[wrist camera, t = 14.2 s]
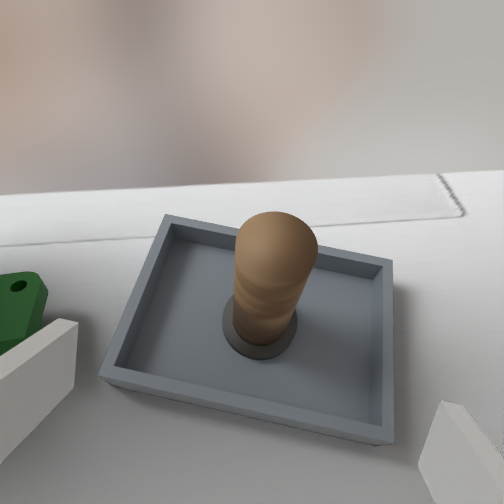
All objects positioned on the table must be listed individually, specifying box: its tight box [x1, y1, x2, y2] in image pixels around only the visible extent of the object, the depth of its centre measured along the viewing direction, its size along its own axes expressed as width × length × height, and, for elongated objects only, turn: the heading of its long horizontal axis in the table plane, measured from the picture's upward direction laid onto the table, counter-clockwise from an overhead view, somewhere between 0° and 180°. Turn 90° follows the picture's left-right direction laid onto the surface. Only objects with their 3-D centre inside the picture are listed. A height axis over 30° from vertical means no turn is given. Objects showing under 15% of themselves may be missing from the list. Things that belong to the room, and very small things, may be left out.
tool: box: [222, 212, 318, 360], centre depth 24 cm, size 6×6×12 cm
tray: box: [98, 214, 395, 446], centre depth 28 cm, size 20×14×4 cm
